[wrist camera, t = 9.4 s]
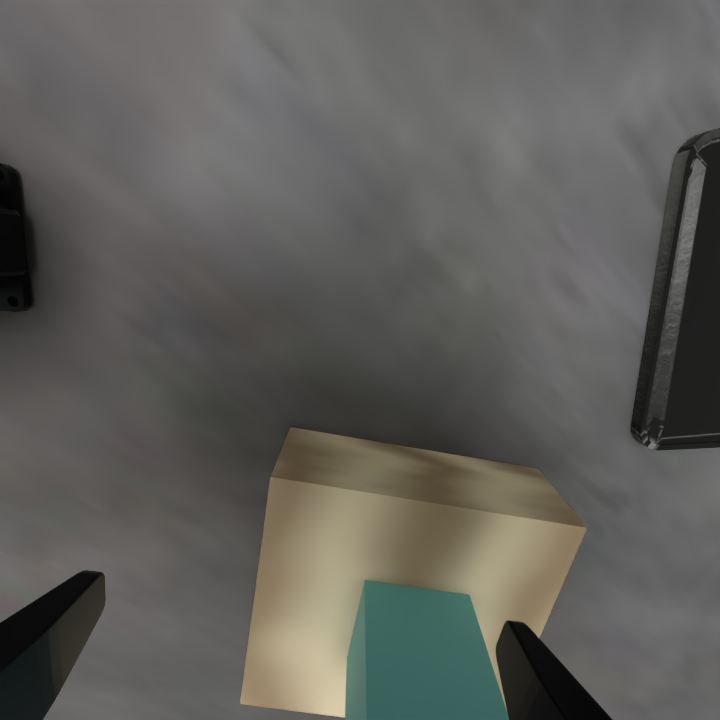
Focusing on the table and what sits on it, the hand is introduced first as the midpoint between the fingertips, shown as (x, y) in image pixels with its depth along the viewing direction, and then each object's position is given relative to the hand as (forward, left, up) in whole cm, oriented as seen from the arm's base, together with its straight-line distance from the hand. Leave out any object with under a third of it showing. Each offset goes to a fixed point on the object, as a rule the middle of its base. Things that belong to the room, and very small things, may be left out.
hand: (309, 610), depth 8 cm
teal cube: (+5, -9, -7) cm, 13 cm away
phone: (+18, +8, -12) cm, 23 cm away
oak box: (+4, -9, -12) cm, 16 cm away
